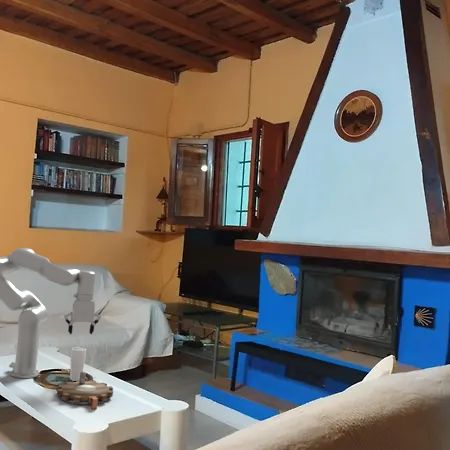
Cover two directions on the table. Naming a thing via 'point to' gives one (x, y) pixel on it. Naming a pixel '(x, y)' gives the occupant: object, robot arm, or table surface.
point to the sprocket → (84, 390)
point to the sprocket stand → (86, 402)
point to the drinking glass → (77, 362)
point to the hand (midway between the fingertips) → (80, 333)
